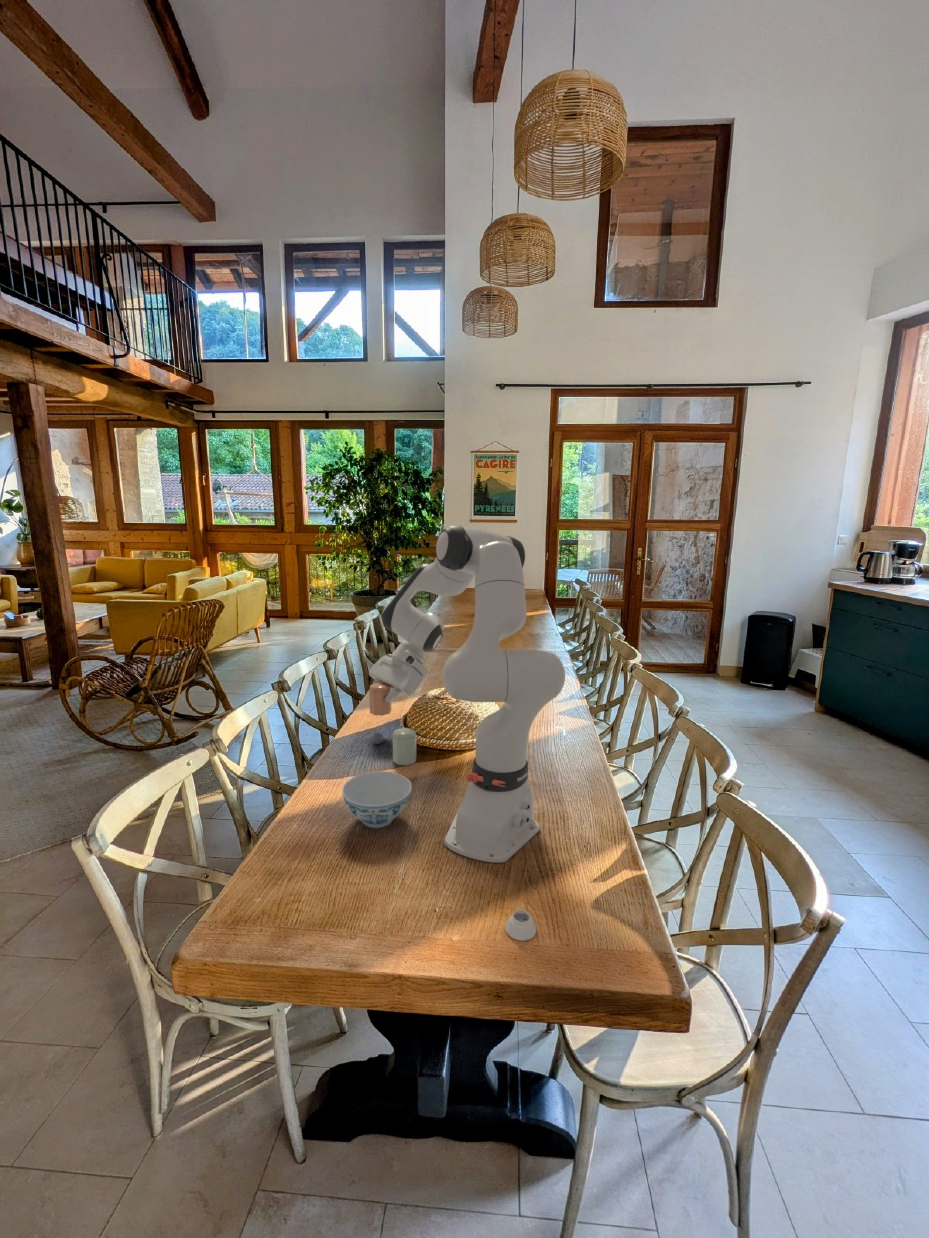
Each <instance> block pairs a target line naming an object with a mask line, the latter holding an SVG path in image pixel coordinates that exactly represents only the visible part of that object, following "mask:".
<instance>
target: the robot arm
mask: <svg viewBox="0 0 929 1238" xmlns="http://www.w3.org/2000/svg"><path fill="white" fill-rule="evenodd" d="M435 546H436V547H435V555H436V558H435V560H434V561H433V562H431V563H423V564H421V565H419V567H418V568H417V569H415V571H414V572H413V573H412V574H411V575H410V576H409V577H408V579H407V580H406V581H405V582H404V583H403V585H402V587H400V590H399V591H398V592H397V594H396V595H395V596H394V597H393V598H392V600H391V601H389V602H388V603H387V605H386V606H385V607H384V609H383V610H382V612H381V615H380V616H381V617H380V618H381V623H382V626H383V628H385V629H387V630H389V631H390V632H391V633H394V634H396V635H397V636H399V637H400V638H402V641H401V642H400V643H399V645H398V646H397V647H396V648H395V649H394V651H393V652H392V654H391V653H388V654H384V655H383V656H382V657H380V658H379V659H378V660H377V661H376V662H375V663H374V664H373V666H371V668H370V669H369V671H368V675H369V676H370V677H371V678H372V679H373V681H372V682H373V683H372V684H375V683H387V684H389V685H391V692H390V693H389V694H388V695H387V694H386V695H385V697H383V700H385V701H386V702H388V703H389V702H390V701H391V702H392V700H393V699H394V698H395V697H397V696H399V694H400V693H402V694H404V695H406V696H408V697H409V696H412V695H413V694H414V693H415V692H416V691H417V689H418V688H419V687H420V686H421V683H423V679H424V678H423V677H427V675H428V674H429V671H428V669H427V668H426V667H425V666H424V664H423V662H424V661H425V658H426V656H427V654H428V653H429V652H434V650H435V649H436V648H437V646H438V645H439V644H440V642H441V640H442V639H443V637H444V636H443V630H444V628H445V623H444V621H443V620H442V619H441V618H440V616H438V615H436V614H435V613H433V612H426V613H424V612H423V611H422V610H420V609H419V608H417V607H415V606H414V605H413V604H412V603H411V600H412V598H413V597H414V596H416V593H417V592H418V591H419V592H422V591H423V592H428V593H431V594H434V595H437V596H441V597H454V596H458V595H460V594H462V593H464V591H465V590H466V589H467V588H468V586H469V585H470V584H471V582H472V580H473V579H474V620H473V625H472V628H471V631H470V633H469V635H468V637H467V639H466V640H465V641H464V643H463V644H462V645H461V646H460V647H459V648H458V649H457V650H456V651H454V652H453V653H451V655H449V657H448V658H447V659H446V661H445V663H444V665H443V668H442V672H441V677H442V678H441V679H442V684H443V686H444V689H445V691H446V692H447V694H448V696H449V697H451V698H452V699H456V700H460V701H464V702H470V703H499V702H500V703H503V704H502V705H501V707H499V709H498V710H496V711H495V712H493V713H490V714H488V715H487V716H485V717H484V718H483V719H482V720H481V721H480V722H479V724H478V726H477V727H476V730H475V756H474V758H473V762H472V767H471V771H469V772H468V773H467V777H466V779H467V780H466V781H467V782H468V784H467V787H466V790H465V792H464V795H463V797H462V799H461V803H460V805H459V808H458V810H457V813H456V814H455V816H454V818H453V821H452V822H451V825H450V827H449V829H448V831H447V833H446V834H445V837H444V840H443V844H444V846H446V847H447V848H448V849H449V850H450V851H452V852H454V853H457V854H459V855H461V856H462V857H463V856H464V857H467V858H468V859H469V858H470V859H473V860H476V861H481V862H487V863H506V862H507V861H509V859H511V857H512V856H515V854H516V853H517V852H518V851H519V850H520V849H521V848H523V847H524V846H525V845H526V844H527V843H528V842H529V841H531V839H532V838H533V837H535V835H536V834H537V833H538V832H540V829H541V825H540V823H539V822H537V820H535V817H534V816H535V814H534V811H535V810H534V808H535V807H534V804H535V803H534V791H533V790H532V788H531V786H530V785H529V782H528V778H529V762H528V760H527V752H528V742H529V734H530V730H531V727H532V725H533V723H534V720H535V718H536V717H537V716H538V714H539V712H541V710H542V709H543V708H544V707H545V706H546V705H547V704H548V703H550V702H551V701H552V700H554V699H555V698H557V697H558V696H559V694H560V693H561V692H562V690H563V688H564V686H565V681H566V671H565V667H564V664H563V662H562V661H561V659H560V657H558V655H557V654H555V653H553V652H548V651H543V650H538V649H537V650H536V649H504V648H501V647H500V642H501V641H502V640H504V639H505V638H508V637H509V636H511V635H514V634H515V633H517V632H519V631H520V630H521V629H522V628H524V627H523V626H525V623H526V622H527V616H528V615H527V601H526V600H527V599H526V586H525V585H526V584H525V576H524V570H523V569H524V568H523V567H524V565H525V561H526V550H525V547H524V544H523V543H522V541H520V540H518V539H517V538H515V537H512V536H509V535H506V536H505V535H503V534H500V533H498V532H494V531H489V530H486V529H482V528H477V527H466V526H465V527H464V526H462V525H447V526H445V528H444V529H442V530H441V531H440V533H439V535H438V538H437V540H436V545H435Z"/></svg>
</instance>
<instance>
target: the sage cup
mask: <svg viewBox="0 0 929 1238" xmlns="http://www.w3.org/2000/svg"><path fill="white" fill-rule="evenodd" d="M416 761H417V731H416V730H415V729H412V728H409V727H401V728H398V729H395V730H394V731H393V734H392V762H393V763H394V764H396V765H398V766H410V765H413V764H415V763H416Z"/></svg>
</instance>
